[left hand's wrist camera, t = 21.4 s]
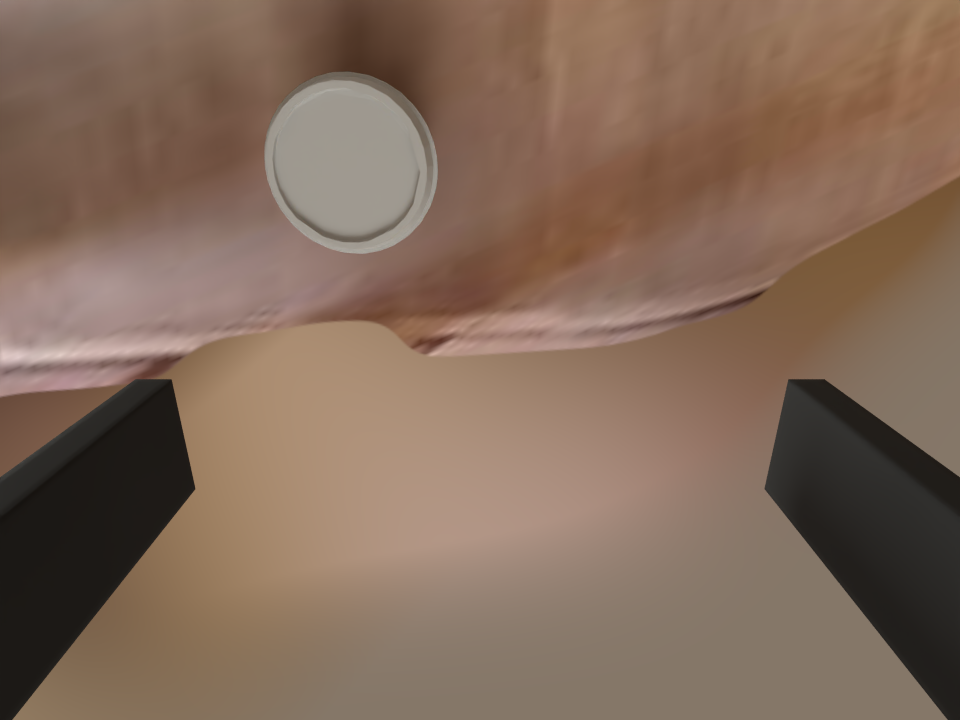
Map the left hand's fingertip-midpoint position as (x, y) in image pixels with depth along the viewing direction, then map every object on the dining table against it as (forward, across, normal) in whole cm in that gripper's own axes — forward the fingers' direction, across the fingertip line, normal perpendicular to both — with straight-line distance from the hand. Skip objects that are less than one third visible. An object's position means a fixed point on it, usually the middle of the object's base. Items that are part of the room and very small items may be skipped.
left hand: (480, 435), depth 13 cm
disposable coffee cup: (+33, +7, -4) cm, 34 cm away
